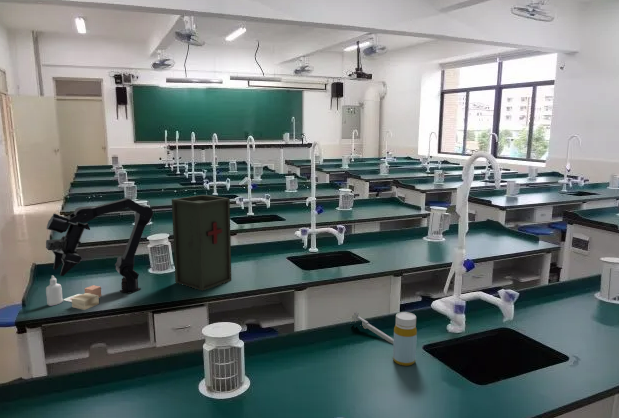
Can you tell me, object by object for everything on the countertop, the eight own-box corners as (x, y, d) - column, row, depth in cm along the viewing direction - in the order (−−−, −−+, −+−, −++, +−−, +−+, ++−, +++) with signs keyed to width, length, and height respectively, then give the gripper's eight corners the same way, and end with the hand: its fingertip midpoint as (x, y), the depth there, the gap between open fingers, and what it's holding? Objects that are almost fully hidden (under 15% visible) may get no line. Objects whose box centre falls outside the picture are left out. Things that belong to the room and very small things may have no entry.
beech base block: (87, 301, 192) (86, 292, 191) (99, 304, 189) (98, 295, 189) (72, 307, 186) (71, 298, 185) (84, 310, 183) (83, 301, 182)
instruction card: (78, 294, 200) (78, 293, 200) (88, 296, 198) (88, 295, 198) (62, 300, 193) (62, 299, 193) (72, 302, 191) (72, 301, 191)
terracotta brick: (94, 295, 200) (93, 285, 199) (101, 296, 198) (100, 286, 197) (85, 298, 196) (84, 288, 195) (92, 300, 194) (92, 289, 193)
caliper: (350, 327, 169) (351, 311, 168) (352, 326, 170) (353, 310, 169) (396, 346, 155) (397, 328, 153) (398, 345, 155) (398, 327, 154)
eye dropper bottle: (47, 303, 190) (44, 275, 188) (62, 300, 192) (60, 273, 190) (47, 306, 186) (44, 278, 184) (63, 304, 189) (60, 276, 187)
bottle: (401, 368, 139) (403, 322, 137) (388, 358, 146) (390, 313, 143) (419, 363, 142) (422, 318, 140) (406, 354, 148) (408, 310, 146)
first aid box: (205, 273, 230) (202, 194, 224) (231, 280, 220) (229, 198, 213) (175, 283, 216) (171, 199, 209) (202, 291, 205) (199, 203, 198)
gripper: (46, 226, 189) (31, 262, 188) (59, 236, 176) (43, 275, 174) (73, 233, 197) (59, 267, 195) (88, 243, 184) (73, 280, 182)
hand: (58, 272), depth 187 cm, fingers open, 9 cm apart
